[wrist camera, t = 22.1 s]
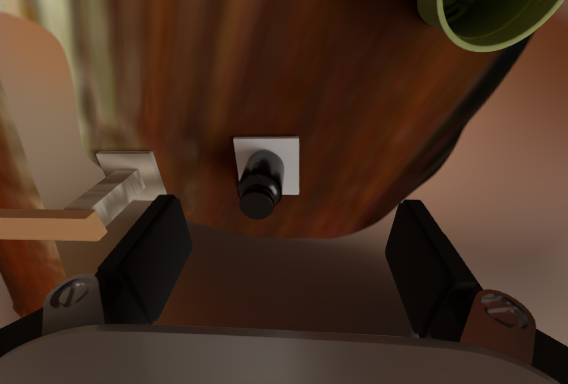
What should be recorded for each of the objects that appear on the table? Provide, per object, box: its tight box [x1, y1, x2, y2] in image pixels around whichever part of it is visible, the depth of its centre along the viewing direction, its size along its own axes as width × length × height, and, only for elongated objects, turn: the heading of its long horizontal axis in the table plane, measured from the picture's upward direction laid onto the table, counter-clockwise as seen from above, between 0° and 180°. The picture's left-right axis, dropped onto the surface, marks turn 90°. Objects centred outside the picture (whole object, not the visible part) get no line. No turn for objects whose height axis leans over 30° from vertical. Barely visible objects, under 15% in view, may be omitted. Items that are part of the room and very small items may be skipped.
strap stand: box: [64, 151, 166, 227], centre depth 43 cm, size 10×10×14 cm
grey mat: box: [233, 136, 299, 195], centre depth 45 cm, size 11×11×1 cm
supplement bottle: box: [237, 151, 284, 220], centre depth 40 cm, size 7×7×12 cm
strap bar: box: [0, 209, 107, 241], centre depth 37 cm, size 4×24×2 cm, turn 92°
